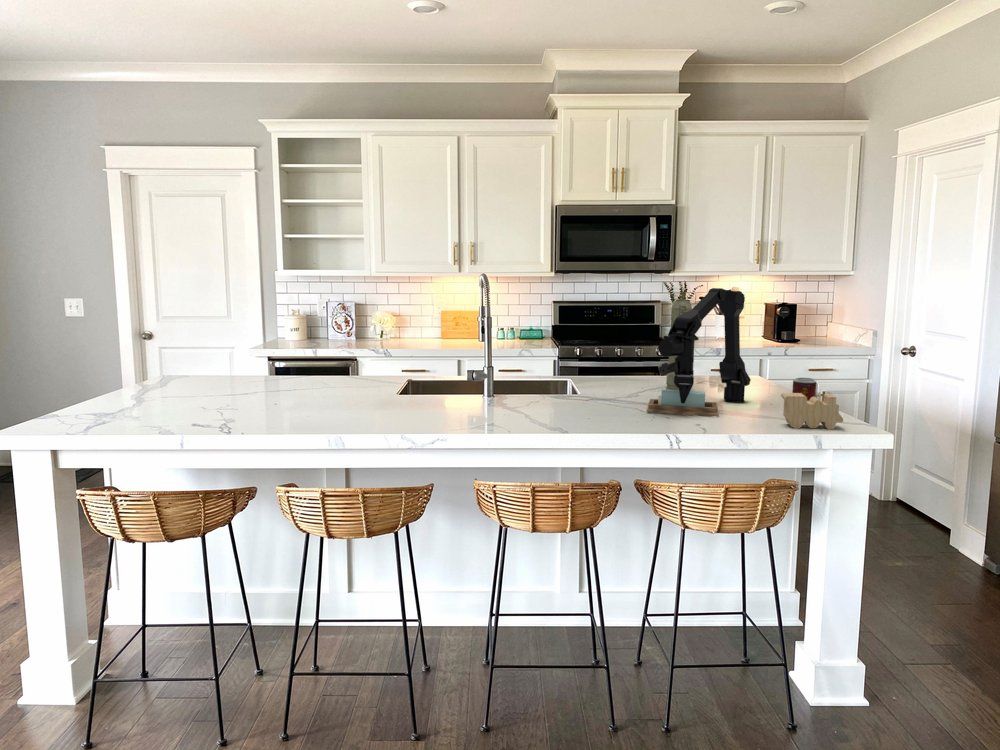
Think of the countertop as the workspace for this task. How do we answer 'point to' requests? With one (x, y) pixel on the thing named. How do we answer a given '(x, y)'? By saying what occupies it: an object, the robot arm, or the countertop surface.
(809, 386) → the soda can
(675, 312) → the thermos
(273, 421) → the countertop surface
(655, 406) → the tray
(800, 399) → the toy train
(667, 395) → the pale blue block
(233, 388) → the countertop surface
